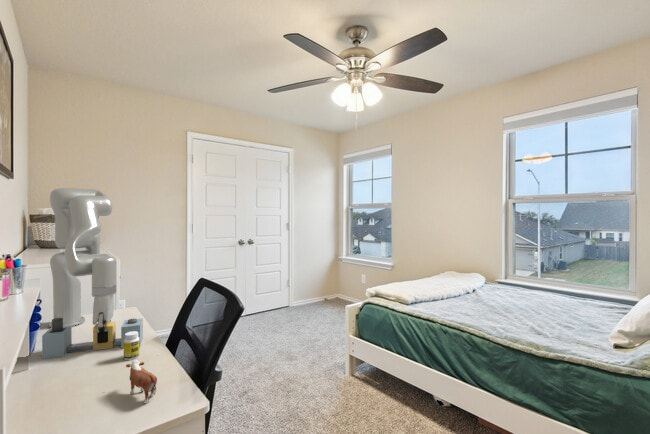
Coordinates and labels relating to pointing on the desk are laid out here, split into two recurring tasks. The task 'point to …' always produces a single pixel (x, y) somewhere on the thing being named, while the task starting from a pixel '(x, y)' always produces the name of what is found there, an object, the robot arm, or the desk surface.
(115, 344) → the rail
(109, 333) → the block
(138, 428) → the desk surface
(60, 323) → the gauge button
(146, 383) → the bull figurine
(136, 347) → the supplement bottle
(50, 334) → the frame
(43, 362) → the desk surface
